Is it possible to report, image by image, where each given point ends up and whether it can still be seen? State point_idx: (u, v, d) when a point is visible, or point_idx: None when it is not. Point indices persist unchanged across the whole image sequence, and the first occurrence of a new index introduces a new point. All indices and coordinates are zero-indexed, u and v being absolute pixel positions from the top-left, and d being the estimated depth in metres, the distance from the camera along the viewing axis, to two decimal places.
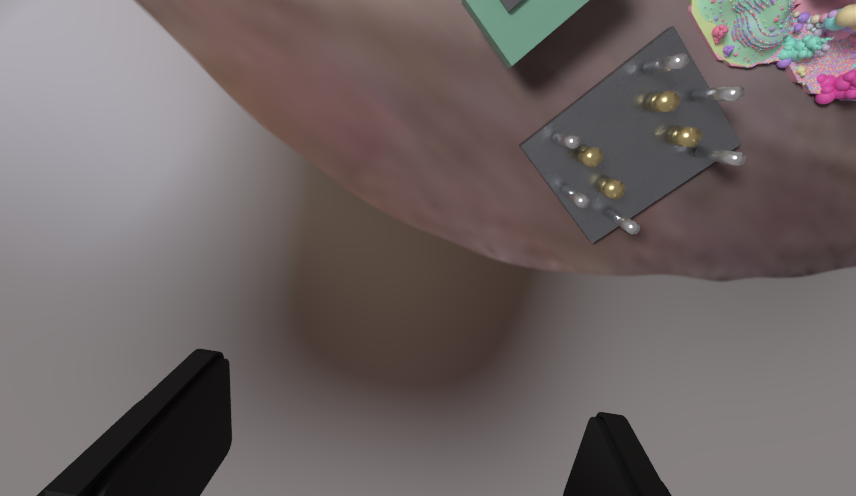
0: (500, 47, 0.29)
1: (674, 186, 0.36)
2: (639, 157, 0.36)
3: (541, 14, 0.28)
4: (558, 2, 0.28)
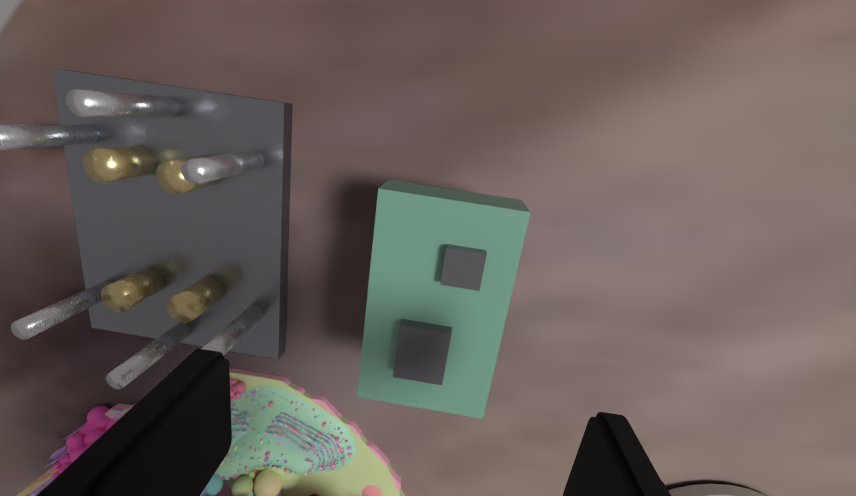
0: (417, 196, 0.15)
1: (80, 233, 0.23)
2: (150, 226, 0.22)
3: (402, 276, 0.17)
4: (395, 304, 0.17)
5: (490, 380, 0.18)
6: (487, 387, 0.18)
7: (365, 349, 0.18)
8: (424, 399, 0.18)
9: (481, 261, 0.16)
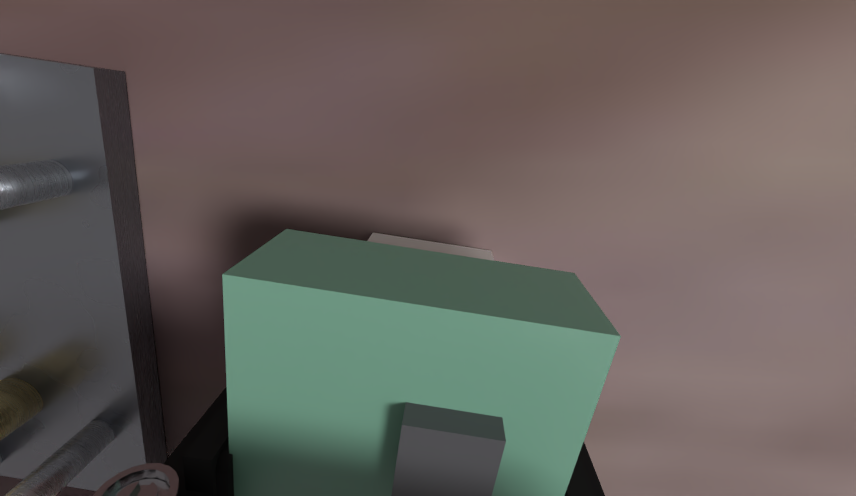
0: (324, 295, 0.06)
1: None
2: None
3: (307, 465, 0.07)
4: None
5: None
6: None
7: None
8: None
9: (492, 458, 0.06)
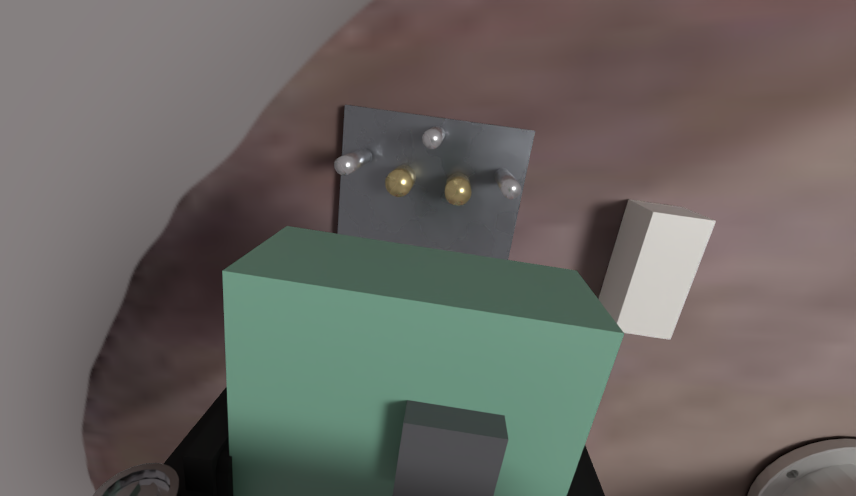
0: (325, 292, 0.06)
1: None
2: (401, 230, 0.27)
3: (307, 464, 0.07)
4: None
5: None
6: None
7: None
8: None
9: (493, 456, 0.06)
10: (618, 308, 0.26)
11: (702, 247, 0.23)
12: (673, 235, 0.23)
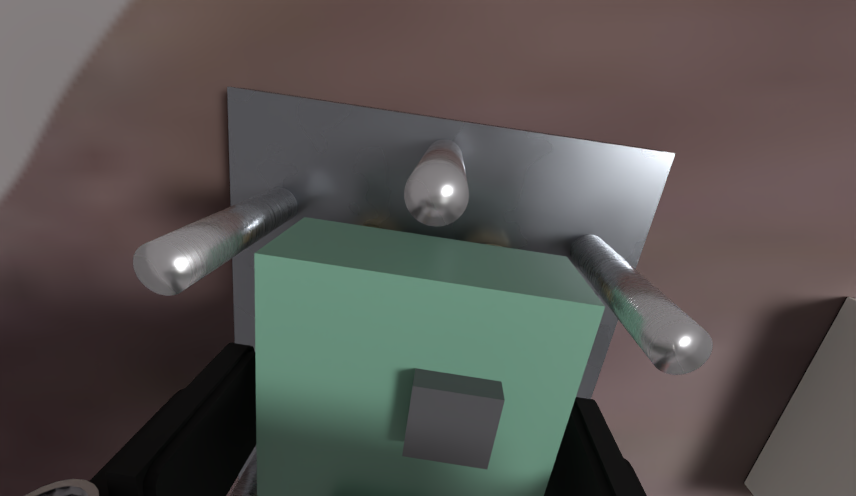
0: (344, 271, 0.07)
1: None
2: None
3: (325, 428, 0.08)
4: (315, 476, 0.08)
5: None
6: None
7: None
8: None
9: (492, 415, 0.07)
10: None
11: None
12: None
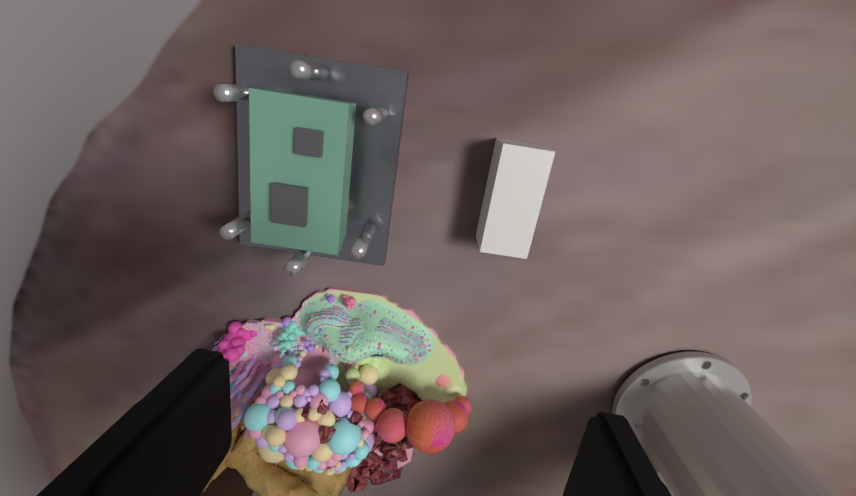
0: (275, 93, 0.24)
1: (240, 169, 0.30)
2: None
3: (272, 151, 0.25)
4: (269, 171, 0.25)
5: (339, 225, 0.27)
6: (337, 231, 0.27)
7: (253, 205, 0.26)
8: (297, 242, 0.27)
9: (319, 137, 0.24)
10: (483, 231, 0.30)
11: (546, 175, 0.27)
12: (522, 165, 0.27)
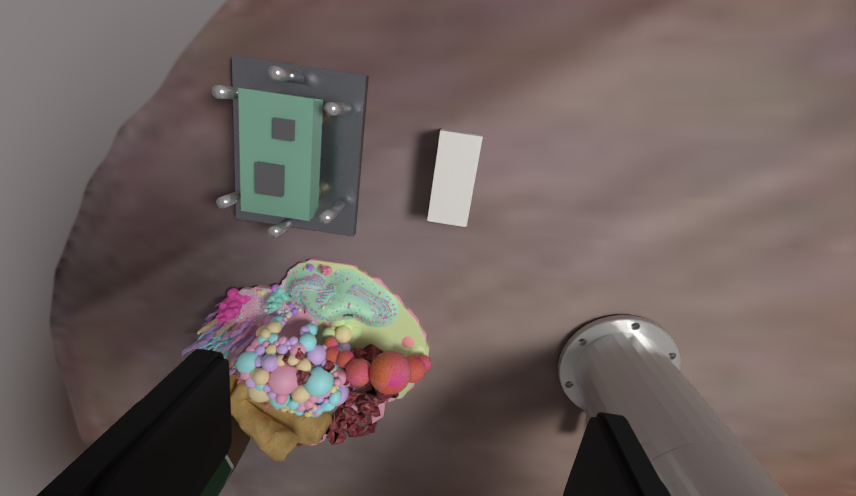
0: (257, 91, 0.31)
1: (236, 156, 0.38)
2: None
3: (256, 136, 0.32)
4: (254, 153, 0.33)
5: (309, 196, 0.34)
6: (308, 201, 0.34)
7: (242, 180, 0.33)
8: (276, 210, 0.34)
9: (290, 124, 0.31)
10: None
11: (476, 156, 0.34)
12: (456, 147, 0.34)
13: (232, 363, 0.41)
